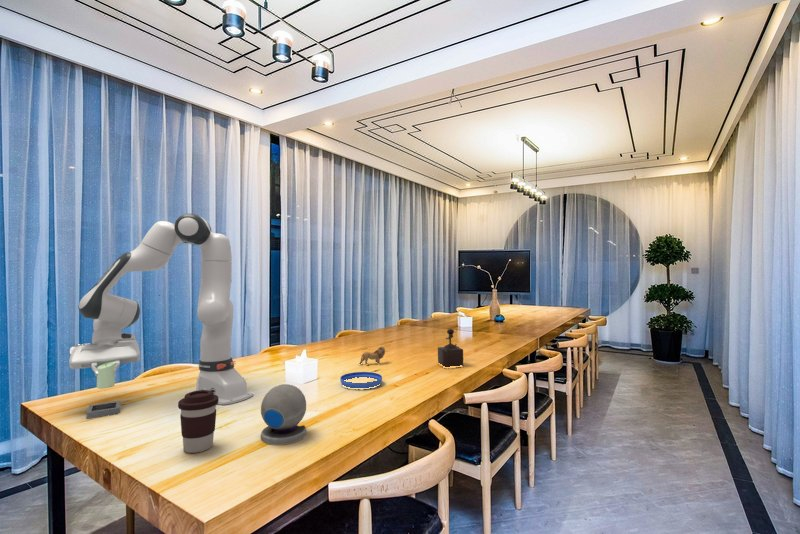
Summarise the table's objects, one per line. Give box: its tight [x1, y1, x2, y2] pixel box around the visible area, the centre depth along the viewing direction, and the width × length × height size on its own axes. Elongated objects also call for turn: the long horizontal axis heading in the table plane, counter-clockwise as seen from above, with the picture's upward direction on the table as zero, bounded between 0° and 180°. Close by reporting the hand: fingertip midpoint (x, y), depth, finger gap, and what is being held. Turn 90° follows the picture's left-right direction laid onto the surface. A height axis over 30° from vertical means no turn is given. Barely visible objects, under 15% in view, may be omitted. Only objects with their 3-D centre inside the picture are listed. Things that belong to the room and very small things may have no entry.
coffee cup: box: [177, 390, 219, 454], centre depth 110 cm, size 10×10×15 cm
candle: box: [96, 362, 116, 390], centre depth 137 cm, size 5×5×8 cm
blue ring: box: [339, 371, 383, 388], centre depth 172 cm, size 18×18×4 cm
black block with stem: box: [437, 328, 464, 367], centre depth 208 cm, size 16×11×18 cm
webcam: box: [260, 383, 307, 446], centre depth 118 cm, size 13×13×15 cm
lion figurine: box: [358, 346, 386, 365], centre depth 209 cm, size 15×5×9 cm, turn 113°
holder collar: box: [85, 400, 122, 420], centre depth 137 cm, size 9×9×2 cm
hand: (105, 374), depth 137 cm, fingers closed on candle, 3 cm apart
